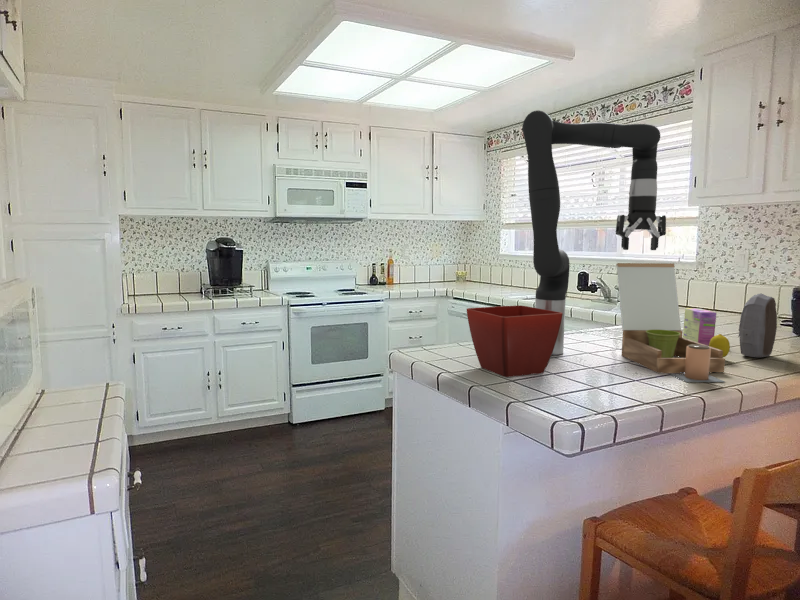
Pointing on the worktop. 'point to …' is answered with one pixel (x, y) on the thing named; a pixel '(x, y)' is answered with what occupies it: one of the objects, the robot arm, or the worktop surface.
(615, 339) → the worktop surface
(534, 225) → the robot arm
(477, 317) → the plant pot
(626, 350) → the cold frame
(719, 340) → the lemon
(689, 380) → the mat
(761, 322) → the soft grey pack
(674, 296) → the propped lid
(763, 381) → the worktop surface
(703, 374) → the tan cylinder
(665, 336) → the plant pot
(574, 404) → the worktop surface
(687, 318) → the box
